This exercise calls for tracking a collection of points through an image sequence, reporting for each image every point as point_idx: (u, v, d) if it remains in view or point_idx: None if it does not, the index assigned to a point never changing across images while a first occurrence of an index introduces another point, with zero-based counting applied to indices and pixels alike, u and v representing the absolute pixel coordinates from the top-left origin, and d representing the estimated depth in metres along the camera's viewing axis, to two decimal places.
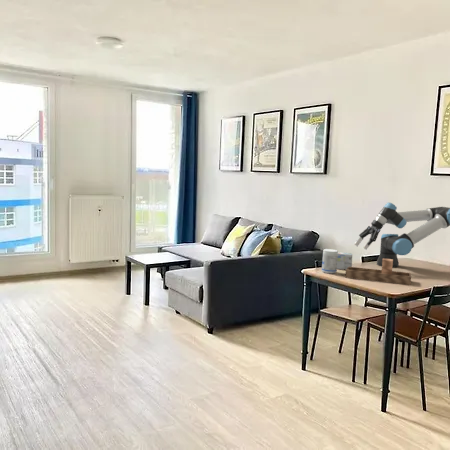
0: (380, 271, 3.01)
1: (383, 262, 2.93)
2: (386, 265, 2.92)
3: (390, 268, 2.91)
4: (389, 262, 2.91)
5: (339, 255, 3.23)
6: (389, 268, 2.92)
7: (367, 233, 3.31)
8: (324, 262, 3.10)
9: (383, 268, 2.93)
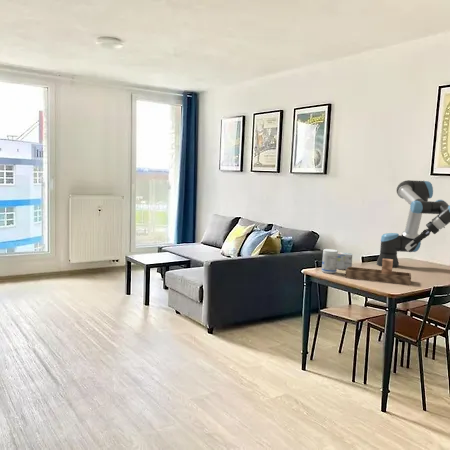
0: (380, 271, 3.01)
1: (383, 262, 2.93)
2: (386, 265, 2.92)
3: (390, 268, 2.91)
4: (389, 262, 2.91)
5: (339, 255, 3.23)
6: (389, 268, 2.92)
7: None
8: (324, 262, 3.10)
9: (383, 268, 2.93)
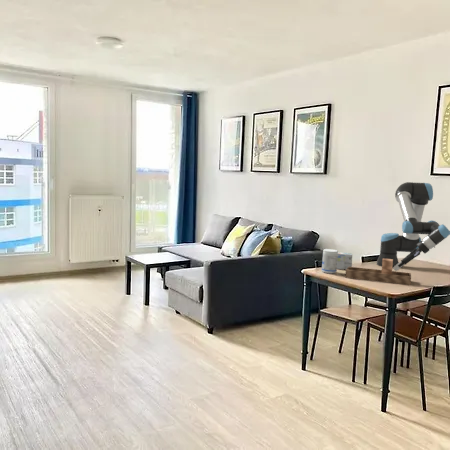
0: (380, 271, 3.01)
1: (383, 262, 2.93)
2: (386, 265, 2.92)
3: (390, 268, 2.91)
4: (389, 262, 2.91)
5: (339, 255, 3.23)
6: (389, 268, 2.92)
7: None
8: (324, 262, 3.10)
9: (383, 268, 2.93)
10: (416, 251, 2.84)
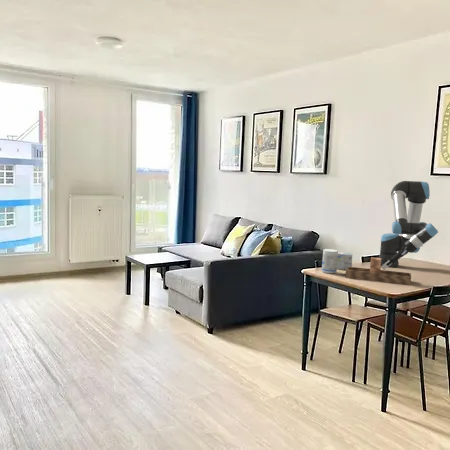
0: (380, 271, 3.01)
1: (371, 261, 2.95)
2: (374, 264, 2.94)
3: (378, 267, 2.94)
4: (377, 261, 2.94)
5: (339, 255, 3.23)
6: (377, 266, 2.94)
7: None
8: (324, 262, 3.10)
9: (371, 267, 2.95)
10: (404, 250, 2.86)
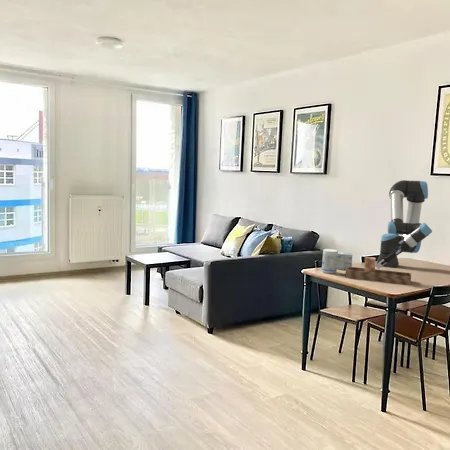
0: (380, 271, 3.01)
1: (366, 260, 2.96)
2: (369, 263, 2.96)
3: (372, 266, 2.95)
4: (371, 261, 2.95)
5: (339, 255, 3.23)
6: (372, 266, 2.95)
7: None
8: (324, 262, 3.10)
9: (366, 266, 2.96)
10: (398, 249, 2.88)
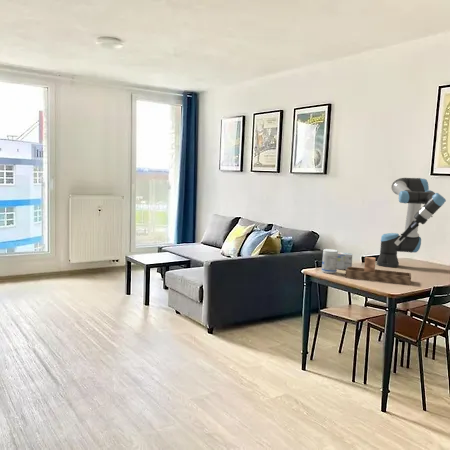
0: (380, 271, 3.01)
1: (366, 260, 2.96)
2: (368, 263, 2.96)
3: (372, 266, 2.95)
4: (371, 261, 2.95)
5: (339, 255, 3.23)
6: (372, 266, 2.95)
7: None
8: (324, 262, 3.10)
9: (366, 266, 2.96)
10: (413, 222, 2.86)
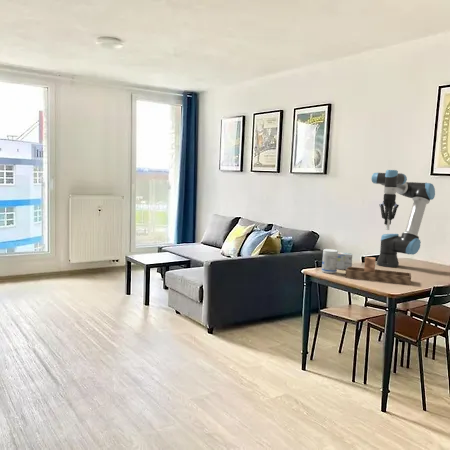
0: (380, 271, 3.01)
1: (366, 260, 2.96)
2: (368, 263, 2.96)
3: (372, 266, 2.95)
4: (371, 261, 2.95)
5: (339, 255, 3.23)
6: (372, 266, 2.95)
7: None
8: (324, 262, 3.10)
9: (366, 266, 2.96)
10: (382, 203, 3.11)
